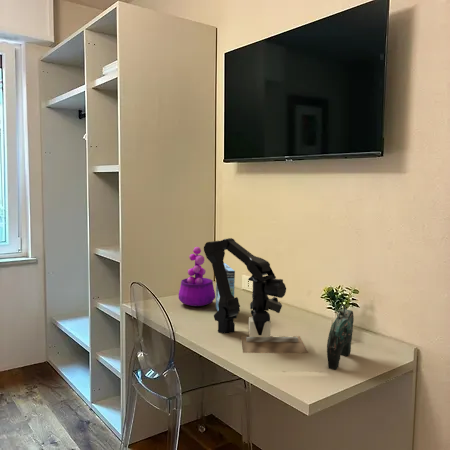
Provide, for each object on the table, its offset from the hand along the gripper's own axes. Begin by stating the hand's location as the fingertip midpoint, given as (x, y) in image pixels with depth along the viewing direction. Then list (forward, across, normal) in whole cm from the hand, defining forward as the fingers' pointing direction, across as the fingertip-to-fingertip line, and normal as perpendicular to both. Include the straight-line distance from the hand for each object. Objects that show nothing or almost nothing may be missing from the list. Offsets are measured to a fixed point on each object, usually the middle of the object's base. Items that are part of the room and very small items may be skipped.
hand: (259, 332), depth 180 cm
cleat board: (+5, -3, -5) cm, 8 cm away
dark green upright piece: (+5, -16, -28) cm, 32 cm away
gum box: (+5, +41, +13) cm, 43 cm away
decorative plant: (+5, +57, +27) cm, 63 cm away
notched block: (+1, 0, 0) cm, 1 cm away
